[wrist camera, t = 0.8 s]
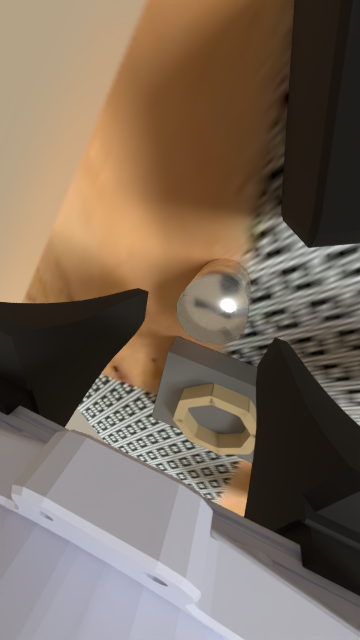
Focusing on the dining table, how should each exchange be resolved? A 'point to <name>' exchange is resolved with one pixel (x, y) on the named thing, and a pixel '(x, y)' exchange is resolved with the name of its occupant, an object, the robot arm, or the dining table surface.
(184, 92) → the dining table surface
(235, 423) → the grey square plate
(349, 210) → the electronic device
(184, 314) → the shiny metal cylinder
